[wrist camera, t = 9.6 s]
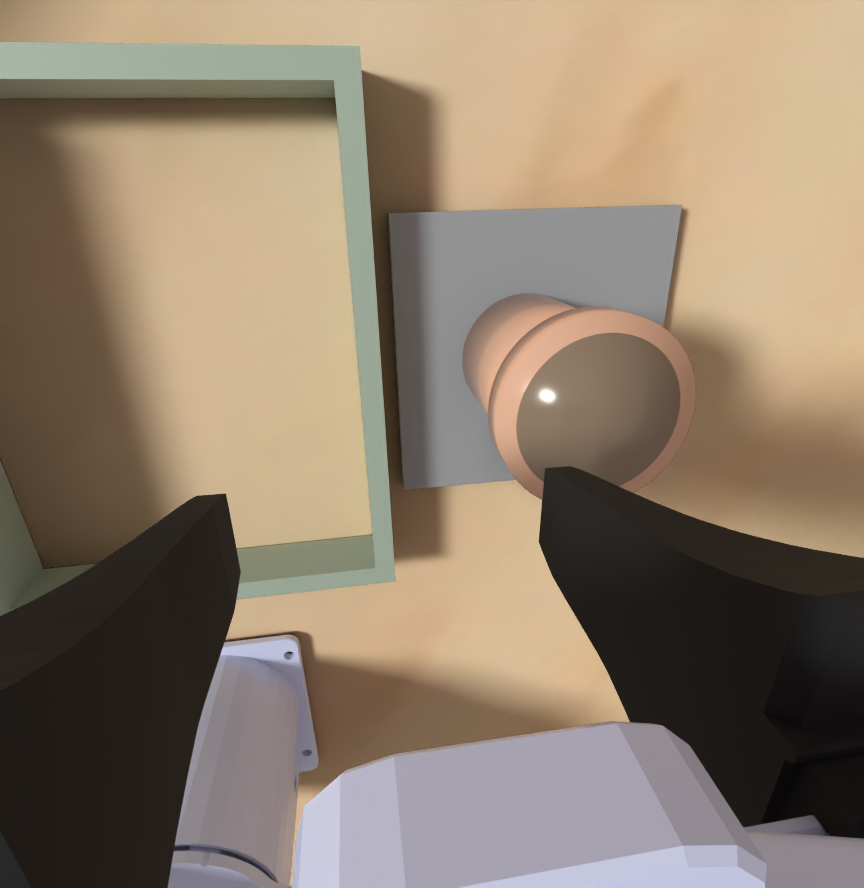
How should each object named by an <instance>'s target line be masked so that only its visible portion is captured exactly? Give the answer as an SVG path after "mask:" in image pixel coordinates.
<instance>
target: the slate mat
mask: <svg viewBox="0 0 864 888" xmlns="http://www.w3.org/2000/svg"><path fill="white" fill-rule="evenodd" d="M681 209H682V205H658V206H622V207H586V208H551V209H515V210H480V211H444V212H408V213H388V228H389V246H390V264H391V282H392V300H393V319H394V337H395V355H396V373H397V391H398V409H399V427H400V446H401V464H402V482H403V488H404V490H411V489H422V488H433V487H443V486H454V485H465V484H475V483H486V482H496V481H507V480H516V479H515V477H514V476H513V475H512V473H511V472H510V470H509V469H508V467H507V466H506V464H505V463H504V461H503V459H502V458H501V456H500V455H499V453H498V451H497V449H496V447H495V445H494V442H493V439H492V437H491V433H490V428H489V422H488V415H487V413H486V412H485V411H484V409H483V408H482V406H481V405H480V403H479V402H478V401H477V399H476V398H475V396H474V395H473V393H472V392H471V391H470V389H469V387H468V385H467V383H466V380H465V377H464V373H463V365H462V356H463V349H464V344H465V341H466V338H467V335H468V333H469V331H470V329H471V327H472V326H473V324H474V323H475V321H476V320H477V319H478V318H479V316H480V315H481V314H482V313H483V312H484V311H485V310H486V309H487V308H489V307H490V306H491V305H493V304H494V303H496V302H498V301H499V300H501V299H504V298H506V297H509V296H512V295H516V294H522V293H536V294H542V295H545V296H548V297H551V298H554V299H556V300H559V301H561V302H564V303H566V304H569V305H571V306H574V307H576V308H579V307H588V306H605V307H611V308H616V309H619V310H623V311H626V312H629V313H631V314H634V315H637V316H640V317H643V318H646V319H649V320H651V321H653V322H655V323H657V324H659V325H661V326H662V327H664V321H665V314H666V307H667V301H668V294H669V288H670V281H671V275H672V268H673V262H674V255H675V248H676V242H677V235H678V229H679V222H680V216H681Z"/></svg>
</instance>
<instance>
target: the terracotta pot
mask: <svg viewBox="0 0 864 888" xmlns="http://www.w3.org/2000/svg"><path fill="white" fill-rule="evenodd" d="M462 365H463V373H464V377H465V380H466V383H467V385H468V387H469V389H470V391H471V392H472V393H473V395H474V396H475V398H476V399H477V401H478V402H479V403H480V405H481V406H482V408H483V409H484V411H485V412H486V413H487V415H488V422H489V428H490V433H491V437H492V439H493V442H494V445H495V447H496V449H497V451H498V453H499V455H500V456H501V458H502V459H503V461H504V463H505V464H506V466H507V467H508V469H509V470H510V472H511V473H512V475H513V476H514V477H515V479H516V480H517V481H518V482H519V483H520V484H521V485H522V486H523V487H524V488H525V489H526V490H527V491H529V492H530V493H531V494H533V495H534V496H536V497H538V498H540V499H542V498H543V486H544V473H545V468H552V467H565V466H571V467H575V468H578V469H580V470H583V471H585V472H588V473H590V474H592V475H595V476H597V477H599V478H601V479H604V480H606V481H608V482H610V483H612V484H614V485H617V486H619V487H621V488H623V489H625V490H628V491H630V492H632V493H634V492H636V491H637V490H639V489H640V488H642V487H643V486H645V485H646V484H647V483H649V482H650V481H651V480H652V479H654V478H655V477H656V476H657V475H658V474H659V473H660V472H661V471H662V470H663V469H664V468H665V467H666V466H667V465H668V463H669V462H670V461H671V460H672V458H673V457H674V456H675V454H676V453H677V451H678V450H679V448H680V447H681V445H682V443H683V441H684V439H685V437H686V435H687V433H688V430H689V427H690V425H691V422H692V418H693V414H694V410H695V402H696V383H695V376H694V371H693V368H692V365H691V362H690V359H689V357H688V355H687V353H686V351H685V350H684V348H683V347H682V345H681V344H680V342H679V341H678V340H677V339H676V338H675V337H674V336H673V335H672V334H671V333H670V332H669V331H667V330H666V329H665V328H663V327H662V326H661V325H659V324H657V323H655V322H653V321H651V320H649V319H646V318H643V317H640V316H637V315H634V314H631V313H629V312H626V311H623V310H619V309H616V308H611V307H605V306H588V307H579V308H576V307H574V306H571V305H569V304H566V303H564V302H561V301H559V300H556V299H554V298H551V297H548V296H545V295H542V294H536V293H522V294H516V295H512V296H509V297H506V298H504V299H501V300H499V301H498V302H496V303H494V304H493V305H491V306H490V307H489V308H487V309H486V310H485V311H484V312H483V313H482V314H481V315H480V316H479V318H478V319H477V320H476V321H475V323H474V324H473V326H472V327H471V329H470V331H469V333H468V335H467V338H466V341H465V344H464V349H463V356H462Z"/></svg>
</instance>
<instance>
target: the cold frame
mask: <svg viewBox="0 0 864 888" xmlns="http://www.w3.org/2000/svg"><path fill="white" fill-rule="evenodd" d="M0 98H335V100H336V111H337V123H338V135H339V146H340V158H341V170H342V182H343V193H344V205H345V217H346V229H347V240H348V252H349V264H350V276H351V287H352V299H353V311H354V323H355V334H356V346H357V358H358V369H359V381H360V393H361V405H362V416H363V428H364V440H365V452H366V463H367V475H368V487H369V499H370V510H371V522H372V534H373V535H366V536H356V537H347V538H337V539H328V540H318V541H308V542H299V543H289V544H280V545H270V546H260V547H251V548H241V549H237V554H238V559H239V565H240V570H241V574H240V580H239V587H238V593H237V599H236V600H239V599H247V598H256V597H265V596H273V595H282V594H291V593H299V592H308V591H316V590H325V589H334V588H342V587H351V586H360V585H368V584H377V583H386V582H394V581H396V580H395V565H394V550H393V535H392V520H391V505H390V490H389V475H388V460H387V445H386V430H385V415H384V400H383V386H382V371H381V356H380V341H379V326H378V311H377V296H376V281H375V266H374V251H373V236H372V221H371V206H370V191H369V176H368V161H367V147H366V132H365V117H364V102H363V87H362V72H361V57H360V46H310V45H223V44H136V43H49V42H0ZM97 564H98V563H97ZM95 565H96V564H87V565H78V566H68V567H59V568H49V569H44V568H43V566H42V563H41V561H40V558H39V556H38V553H37V551H36V548H35V546H34V543H33V541H32V538H31V536H30V533H29V531H28V528H27V526H26V523H25V521H24V518H23V516H22V513H21V511H20V508H19V506H18V503H17V501H16V498H15V496H14V493H13V491H12V488H11V486H10V483H9V481H8V478H7V476H6V473H5V471H4V468H3V466H2V463H1V461H0V616H1V615H4V614H6V613H8V612H10V611H12V610H14V609H16V608H18V607H21V606H23V605H25V604H27V603H29V602H31V601H33V600H35V599H37V598H39V597H41V596H42V595H44V594H46V593H48V592H50V591H52V590H53V589H55V588H57V587H59V586H61V585H63V584H64V583H66V582H68V581H70V580H71V579H73V578H75V577H77V576H78V575H80V574H82V573H83V572H85V571H87V570H88V569H90V568H91V567H93V566H95Z"/></svg>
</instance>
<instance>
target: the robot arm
mask: <svg viewBox="0 0 864 888" xmlns="http://www.w3.org/2000/svg"><path fill="white" fill-rule="evenodd" d="M539 543H540V546H541V549H542V551H543V554H544V556H545V559H546V562H547V564H548V566H549V569H550V571H551V573H552V576H553V578H554V580H555V581H556V583H557V585H558V587H559V588H560V590H561V592H562V594H563V595H564V597H565V599H566V600H567V602H568V604H569V606H570V607H571V609H572V611H573V612H574V614H575V616H576V617H577V619H578V621H579V622H580V624H581V626H582V628H583V629H584V631H585V633H586V634H587V636H588V638H589V639H590V641H591V643H592V644H593V646H594V648H595V649H596V651H597V653H598V655H599V657H600V658H601V660H602V662H603V664H604V666H605V668H606V670H607V672H608V674H609V676H610V678H611V680H612V683H613V685H614V687H615V689H616V691H617V694H618V696H619V698H620V700H621V702H622V705H623V707H624V709H625V711H626V713H627V716H628V718H629V721H630V722H612V721H611V722H604V723H597V724H591V725H584V726H577V727H571V728H564V729H557V730H551V731H544V732H537V733H531V734H524V735H517V736H510V737H504V738H497V739H490V740H484V741H477V742H470V743H464V744H457V745H450V746H444V747H437V748H430V749H424V750H417V751H410V752H403V753H397V754H392V755H389V756H386V757H383V758H380V759H377V760H374V761H371V762H368V763H365V764H362V765H359V766H356V767H353V768H350V769H347V770H346V771H344V772H343V773H342V774H341V775H339V776H338V777H337V778H336V779H335V780H334V781H333V782H332V783H330V784H329V785H328V786H327V787H326V788H325V789H324V790H322V791H321V792H320V793H319V794H318V795H317V796H316V797H315V798H313V799H312V800H311V801H310V802H309V803H308V804H307V805H305V806H304V809H303V813H302V817H301V822H300V826H299V830H298V834H297V838H296V844H295V856H294V869H293V881H292V887H291V886H290V879H291V867H292V856H293V844H294V832H295V821H296V809H297V797H298V786H299V774H300V772H306V771H311V770H314V769H315V768H317V766H318V763H319V756H318V751H317V745H316V739H315V733H314V727H313V721H312V715H311V709H310V703H309V697H308V691H307V686H306V680H305V674H304V668H303V662H302V656H301V650H300V644H299V640H298V638H297V637H296V636H294V635H280V636H272V637H264V638H256V639H248V640H240V641H232V642H225V639H226V636H227V633H228V630H229V626H230V623H231V620H232V617H233V614H234V609H235V604H236V599H237V593H238V587H239V580H240V574H241V570H240V565H239V559H238V554H237V549H236V544H235V539H234V534H233V528H232V523H231V518H230V513H229V508H228V502H227V497H226V494H215V495H203V496H196V497H194V498H192V499H190V500H189V501H187V502H186V503H184V504H183V505H181V506H180V507H178V508H177V509H176V510H174V511H173V512H171V513H170V514H169V515H167V516H166V517H164V518H163V519H162V520H160V521H159V522H158V523H156V524H155V525H153V526H152V527H151V528H149V529H148V530H146V531H145V532H144V533H142V534H141V535H139V536H138V537H137V538H135V539H134V540H132V541H131V542H129V543H128V544H126V545H125V546H123V547H122V548H120V549H119V550H117V551H116V552H114V553H113V554H111V555H110V556H108V557H107V558H105V559H104V560H102V561H101V562H99V563H98V564H96V565H95V566H93V567H91V568H90V569H88V570H87V571H85V572H83V573H82V574H80V575H78V576H77V577H75V578H73V579H71V580H70V581H68V582H66V583H64V584H63V585H61V586H59V587H57V588H55V589H53V590H52V591H50V592H48V593H46V594H44V595H42V596H41V597H39V598H37V599H35V600H33V601H31V602H29V603H27V604H25V605H23V606H21V607H18V608H16V609H14V610H12V611H10V612H8V613H6V614H4V615H1V616H0V888H864V558H860V557H853V556H847V555H842V554H836V553H830V552H824V551H818V550H813V549H808V548H803V547H798V546H793V545H788V544H784V543H780V542H776V541H772V540H768V539H764V538H759V537H755V536H751V535H748V534H744V533H740V532H737V531H733V530H730V529H727V528H724V527H721V526H717V525H714V524H711V523H708V522H705V521H702V520H699V519H696V518H693V517H690V516H688V515H685V514H682V513H680V512H677V511H675V510H672V509H670V508H667V507H665V506H662V505H660V504H657V503H655V502H653V501H650V500H648V499H645V498H643V497H641V496H639V495H636V494H634V493H632V492H630V491H628V490H625V489H623V488H621V487H619V486H617V485H614V484H612V483H610V482H608V481H606V480H604V479H601V478H599V477H597V476H595V475H592V474H590V473H588V472H585V471H583V470H580V469H578V468H575V467H571V466H565V467H552V468H545V473H544V486H543V498H542V510H541V522H540V535H539ZM288 651H289V652H293V653H291V654H290V653H286V652H288Z"/></svg>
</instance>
